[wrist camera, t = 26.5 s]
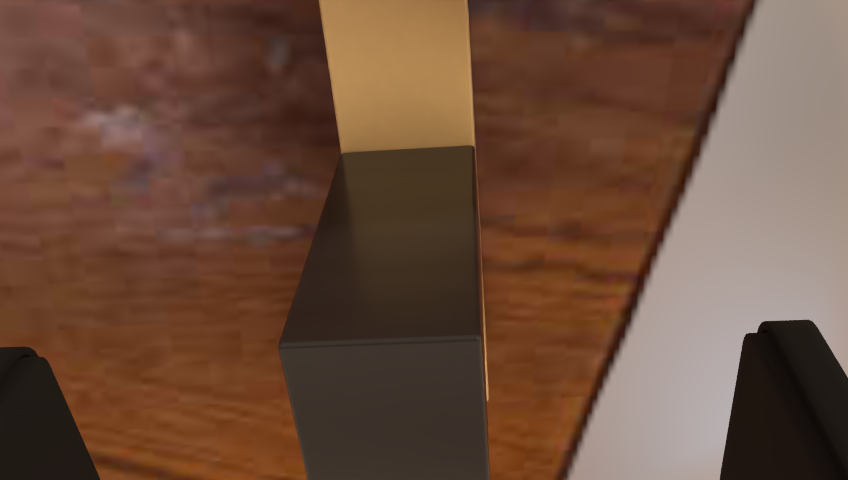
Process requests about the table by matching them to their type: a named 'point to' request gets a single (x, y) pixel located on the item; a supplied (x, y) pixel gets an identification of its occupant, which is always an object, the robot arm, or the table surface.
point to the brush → (394, 257)
